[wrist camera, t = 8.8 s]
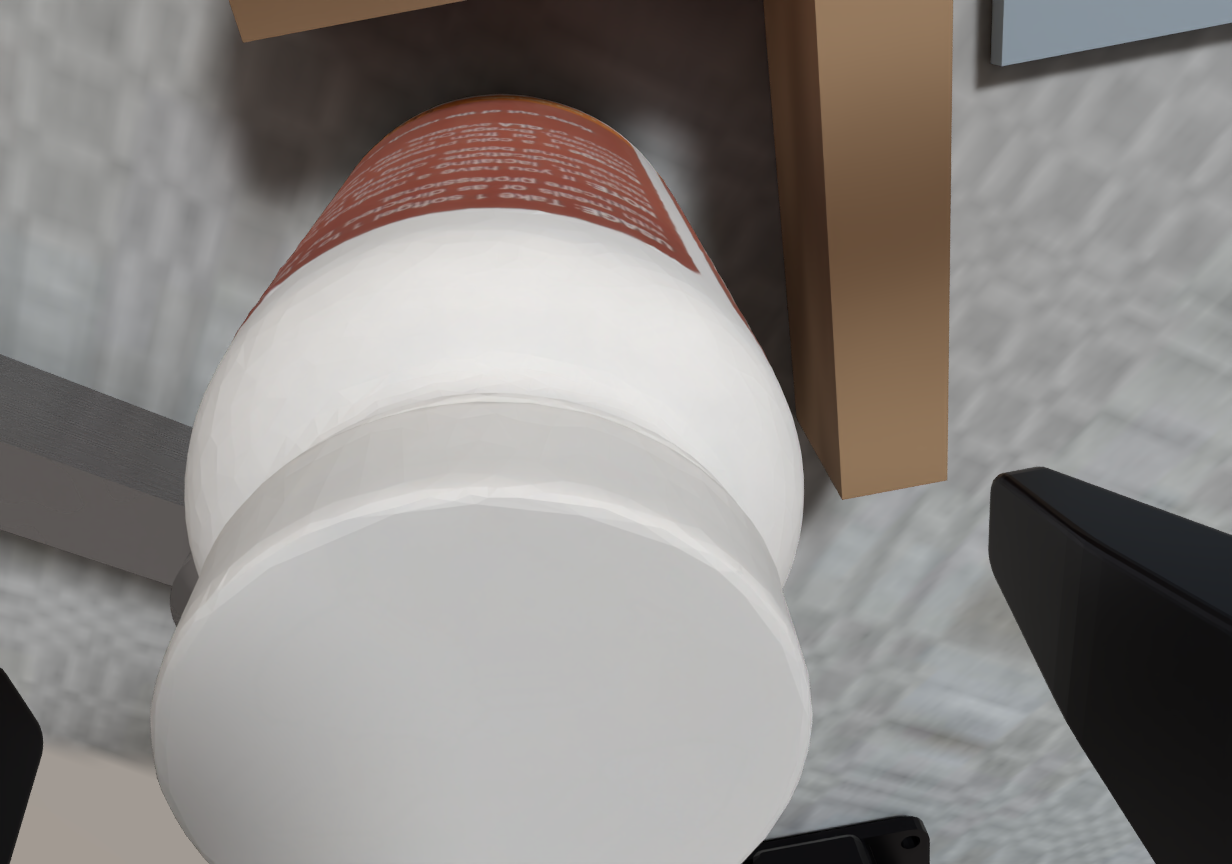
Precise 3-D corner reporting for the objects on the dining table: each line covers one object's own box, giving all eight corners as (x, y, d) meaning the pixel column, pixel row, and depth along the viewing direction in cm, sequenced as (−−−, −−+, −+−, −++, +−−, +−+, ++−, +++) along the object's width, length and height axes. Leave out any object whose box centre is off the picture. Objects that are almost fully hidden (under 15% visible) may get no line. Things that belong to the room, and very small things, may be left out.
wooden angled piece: (887, 457, 19) (946, 542, 16) (255, 575, 19) (209, 679, 16) (869, -246, 13) (955, -294, 10) (-37, -72, 13) (-181, -76, 10)
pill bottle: (261, 280, 16) (-170, 818, 6) (493, -1, 14) (409, 122, 4) (528, 482, 18) (526, 1101, 8) (756, 263, 16) (1084, 727, 7)
